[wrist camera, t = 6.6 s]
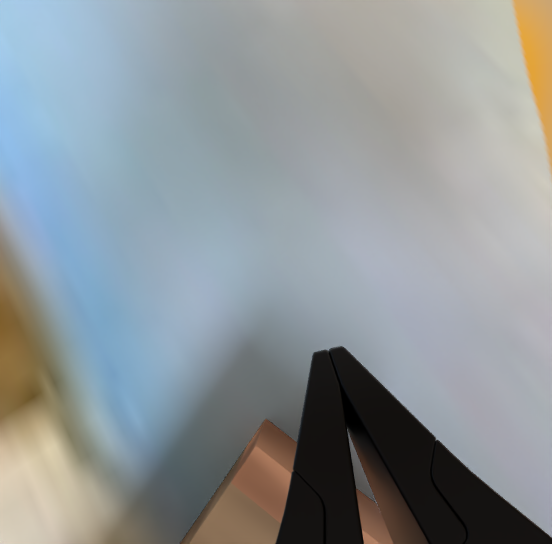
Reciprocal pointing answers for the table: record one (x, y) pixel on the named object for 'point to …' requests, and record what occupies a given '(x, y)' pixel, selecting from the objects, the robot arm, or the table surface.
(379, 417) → the robot arm
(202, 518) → the walnut pillar
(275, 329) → the table surface
